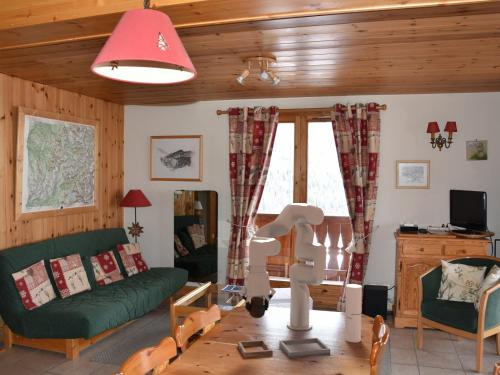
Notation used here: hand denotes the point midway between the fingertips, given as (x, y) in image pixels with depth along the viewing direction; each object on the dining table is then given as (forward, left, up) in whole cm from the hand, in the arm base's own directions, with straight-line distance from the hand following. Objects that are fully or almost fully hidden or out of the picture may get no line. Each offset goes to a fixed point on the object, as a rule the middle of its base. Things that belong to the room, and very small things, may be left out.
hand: (257, 309), depth 193 cm
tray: (+4, +20, -18) cm, 27 cm away
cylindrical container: (-4, +47, -18) cm, 51 cm away
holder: (0, -1, -18) cm, 18 cm away
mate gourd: (0, 0, -3) cm, 3 cm away
